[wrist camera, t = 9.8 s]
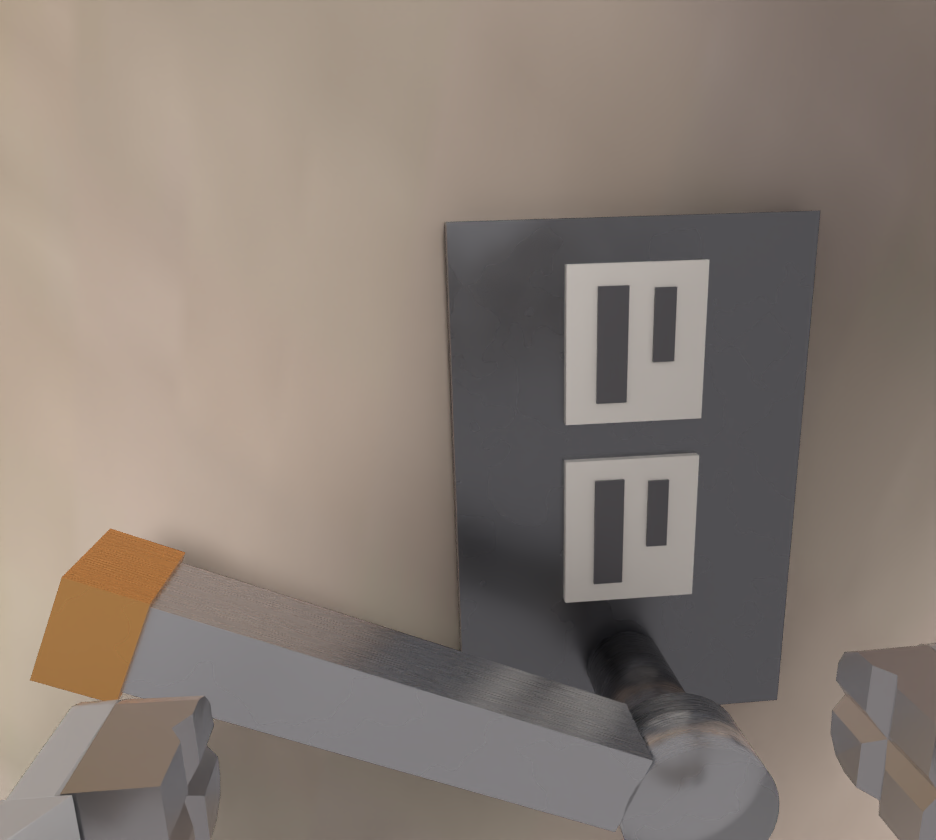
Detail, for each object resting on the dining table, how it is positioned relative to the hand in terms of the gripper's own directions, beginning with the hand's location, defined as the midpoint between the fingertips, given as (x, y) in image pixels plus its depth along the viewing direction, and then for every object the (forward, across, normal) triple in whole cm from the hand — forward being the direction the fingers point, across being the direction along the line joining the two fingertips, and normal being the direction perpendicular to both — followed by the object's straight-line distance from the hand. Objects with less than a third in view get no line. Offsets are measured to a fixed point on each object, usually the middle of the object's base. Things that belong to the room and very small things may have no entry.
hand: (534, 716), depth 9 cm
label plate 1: (+15, -6, -2) cm, 16 cm away
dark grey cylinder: (+15, -6, +10) cm, 19 cm away
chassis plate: (+16, -6, +3) cm, 17 cm away
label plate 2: (+15, -6, +4) cm, 17 cm away
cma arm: (+11, +1, +7) cm, 12 cm away
